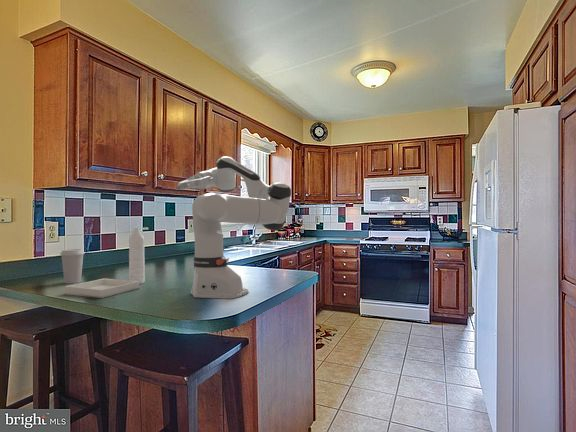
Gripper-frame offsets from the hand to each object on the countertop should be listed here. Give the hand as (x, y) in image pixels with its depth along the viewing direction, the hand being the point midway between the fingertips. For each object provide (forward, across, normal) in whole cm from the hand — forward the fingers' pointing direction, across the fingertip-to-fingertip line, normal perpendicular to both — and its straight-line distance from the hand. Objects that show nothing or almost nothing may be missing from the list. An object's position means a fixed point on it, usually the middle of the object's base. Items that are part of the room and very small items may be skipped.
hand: (181, 187), depth 170 cm
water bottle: (+32, +7, -36) cm, 49 cm away
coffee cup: (+50, +32, -29) cm, 66 cm away
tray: (+50, +1, -30) cm, 58 cm away
